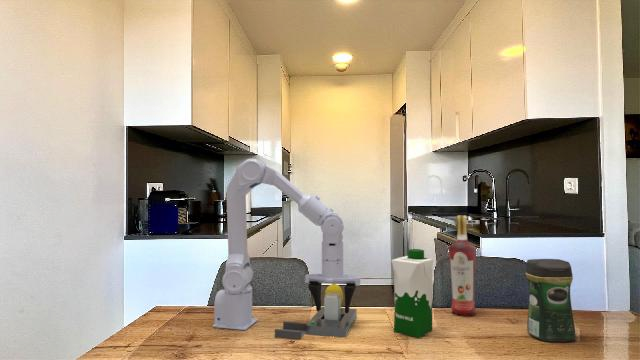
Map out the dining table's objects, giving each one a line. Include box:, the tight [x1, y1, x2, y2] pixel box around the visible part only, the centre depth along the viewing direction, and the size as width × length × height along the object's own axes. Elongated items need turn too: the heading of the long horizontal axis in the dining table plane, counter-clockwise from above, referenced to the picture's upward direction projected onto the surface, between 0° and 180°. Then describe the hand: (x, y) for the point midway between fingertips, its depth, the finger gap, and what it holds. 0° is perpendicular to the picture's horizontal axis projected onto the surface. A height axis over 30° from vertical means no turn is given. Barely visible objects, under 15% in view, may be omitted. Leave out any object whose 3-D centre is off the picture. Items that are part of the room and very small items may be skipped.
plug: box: [323, 293, 342, 321], centre depth 101 cm, size 4×4×8 cm
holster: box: [274, 320, 308, 341], centre depth 95 cm, size 6×7×2 cm
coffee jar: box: [525, 258, 576, 342], centre depth 92 cm, size 10×8×19 cm
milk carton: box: [390, 248, 434, 339], centre depth 97 cm, size 9×9×20 cm
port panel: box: [305, 306, 358, 338], centre depth 101 cm, size 10×16×3 cm, turn 165°
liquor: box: [448, 215, 477, 317], centre depth 111 cm, size 7×7×28 cm
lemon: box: [324, 283, 344, 305], centre depth 114 cm, size 6×6×8 cm
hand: (332, 311), depth 101 cm, fingers open, 7 cm apart
